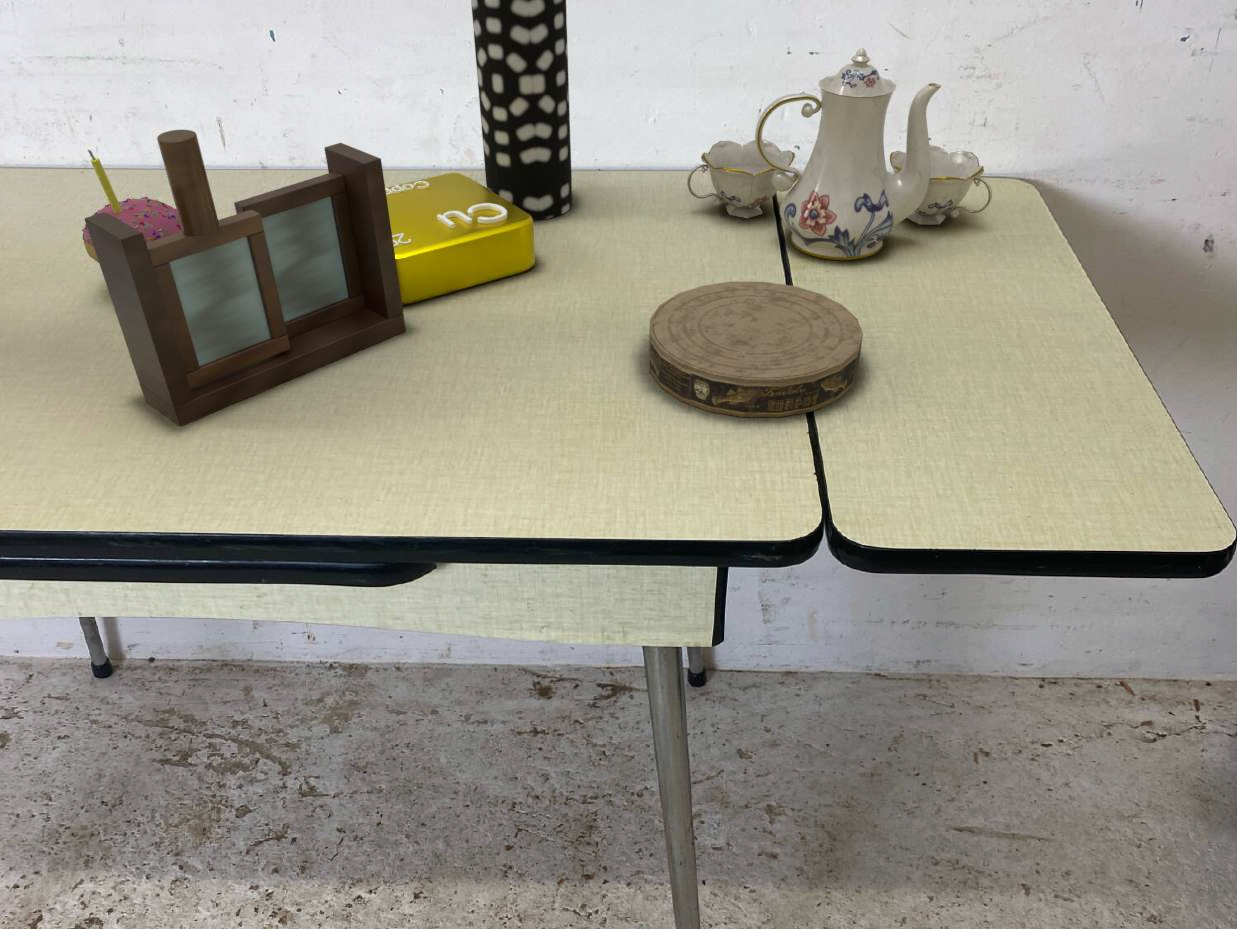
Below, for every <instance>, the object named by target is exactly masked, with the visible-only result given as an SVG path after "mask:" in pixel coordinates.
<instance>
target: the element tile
mask: <svg viewBox="0 0 1237 929" xmlns="http://www.w3.org/2000/svg"><path fill="white" fill-rule="evenodd" d="M385 190H386V197H387V204H388V211H389V218H390V225H391V231H392V238H393V245H394V252H395V259H396V266H397V273H398V280H399V287H400V293H401V300H402V306H403V305H411V304H414V303H418V302H422V301H427V300H428V299H432V298H436V297H439V296H443V295H446V294H450V293H454V292H458V291H460V290H465V289H468V288H471V287H475V286H478V285H482V284H485V283H489V282H493V281H496V280H499V279H503V278H506V277H510V276H514V275H517V274H521V273H523V272H526V271H528V270H530V269H531V268H533V266H534V265H535V263H536V250H535V249H536V248H535V233H534V230H535V229H534V220H532V217H531V216H530V214H528V213H526V212H525V211H523V210H521V209H520V208H518V207H517V206H515V205H513V204H512V203H510V202H508V201H507V200H505V199H503V198H502V197H500V196H499V195H497V194H495V193H494V192H492V191H490V190H489V189H487V186H484V185H482V184H481V183H480V182H478V181H476V180H474V179H473V178H471V177H470V176H467V175H465V174H462V173H459V172H450V173H444V174H440V175H436V176H432V177H426V178H423V179H418V180H414V181H410V182H405V183H400V184H395V185H393V186H388V187H386V186H385Z"/></svg>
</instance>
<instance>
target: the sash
mask: <svg viewBox="0 0 1237 929" xmlns="http://www.w3.org/2000/svg"><path fill="white" fill-rule="evenodd" d="M156 140H157V144H158V147H159V151H160V155H161V158H162V162H163V166H164V170H165V173H166V177H167V180H168V183H169V187H170V191H171V194H172V199H173V202H174V205H175V209H177V213H178V217H179V220H180V224H181V228H182V232H179V233H176V234H173V235H170V236H167V237H163V238H160V239H157V240H154V241H151V242H148V243H146V245H147V248H148V252H149V255H150V258H151V262H152V265H153V268H154V272H155V275H156V278H157V282H158V285H159V288H160V292H161V295H162V298H163V302H164V305H165V308H166V312H167V315H168V318H169V322H170V325H171V328H172V332H173V335H174V338H175V342H176V345H177V348H178V351H179V355H180V358H181V361H182V365H183V368H184V371H185V375H186V378H187V381H188V385H189V388H190V389H192V388H195V387H197V386H200V385H202V384H205V383H207V382H210V381H212V380H215V379H217V378H220V377H222V376H225V375H227V374H229V373H232V372H234V371H237V370H239V369H242V368H244V367H247V366H249V365H252V364H254V363H257V362H259V361H262V360H264V359H266V358H269V357H271V356H274V355H276V354H279V353H281V352H284V351H286V350H289V349H290V344H289V339H288V335H287V330H286V326H285V322H284V317H283V313H282V308H281V304H280V299H279V295H278V290H277V286H276V281H275V277H274V273H273V268H272V264H271V259H270V255H269V250H268V246H267V241H266V237H265V233H264V228H263V223H262V219H261V215H260V214H259V213H257V212H255V211H253V210H248V211H245V212H242V213H239V214H237V213H235V214H233V215H230V216H226V217H223V218H221V219H219V218H218V214H217V210H216V206H215V202H214V198H213V194H212V190H211V186H210V181H209V179H208V174H207V170H206V166H205V163H204V158H203V155H202V154H203V153H202V151H201V147H200V142H199V138H198V135H197V133H196V131H194V130H190V129H173V130H168V131H165V132H162V133H160V134H159V135H158V136H157V137H156Z"/></svg>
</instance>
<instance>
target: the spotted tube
mask: <svg viewBox="0 0 1237 929" xmlns="http://www.w3.org/2000/svg"><path fill="white" fill-rule="evenodd" d="M470 4H471V17H472V28H473V40H474V52H475V64H476V65H475V66H476V78H477V89H478V101H479V112H480V113H479V114H480V124H481V125H480V126H481V138H482V149H483V161H484V172H485V174H484V175H485V185H486V186H485V187H486V188H487V189H489V190H490V191H492V192H494V193H495V194H497V195H499V196H500V197H502V198H503V199H505V200H507V201H508V202H510V203H512V204H513V205H515V206H517V207H518V208H520V209H521V210H523V211H525V212H526V213H528V214H530V216H531V217H532V220H533V221H541V220H547V219H551V218H556V217H558V216H562V215H563V214H565V213H567V212H568V211H569V210H570V209H571V208H572V207H573V187H572V186H573V182H572V181H573V178H572V148H571V146H572V145H571V115H570V114H571V113H570V82H569V52H568V51H569V50H568V49H569V48H568V20H567V19H568V18H567V16H568V15H567V0H470Z"/></svg>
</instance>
